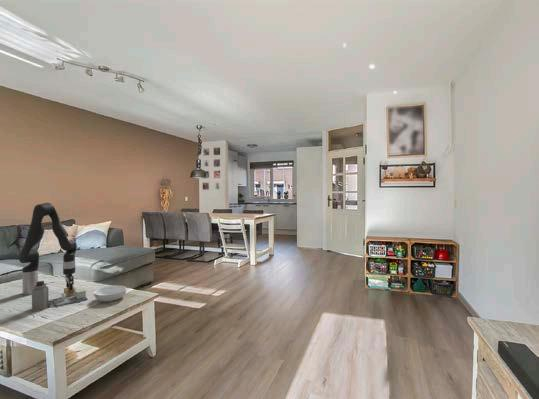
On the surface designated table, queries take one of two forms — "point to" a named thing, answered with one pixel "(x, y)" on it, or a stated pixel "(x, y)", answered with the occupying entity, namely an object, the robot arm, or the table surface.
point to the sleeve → (69, 292)
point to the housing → (80, 293)
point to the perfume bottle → (40, 296)
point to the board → (67, 300)
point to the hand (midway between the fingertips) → (69, 288)
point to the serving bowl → (110, 293)
